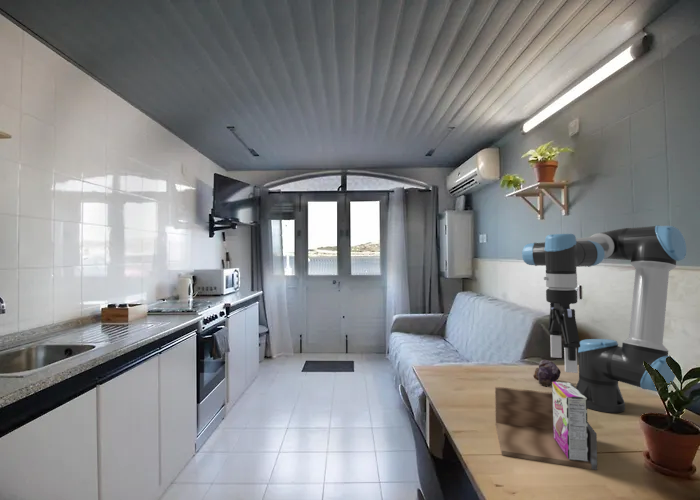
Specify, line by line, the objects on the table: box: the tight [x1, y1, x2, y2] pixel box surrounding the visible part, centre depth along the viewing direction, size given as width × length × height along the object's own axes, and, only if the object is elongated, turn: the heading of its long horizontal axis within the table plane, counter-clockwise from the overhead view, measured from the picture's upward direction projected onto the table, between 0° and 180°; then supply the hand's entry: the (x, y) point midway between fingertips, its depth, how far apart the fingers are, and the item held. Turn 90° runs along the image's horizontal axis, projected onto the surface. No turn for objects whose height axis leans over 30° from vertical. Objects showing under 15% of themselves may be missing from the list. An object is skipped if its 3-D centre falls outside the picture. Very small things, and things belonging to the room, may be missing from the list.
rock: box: [532, 359, 561, 387], centre depth 148 cm, size 12×9×10 cm
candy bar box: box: [551, 381, 589, 462], centre depth 94 cm, size 11×5×16 cm, turn 168°
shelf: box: [494, 386, 598, 471], centre depth 99 cm, size 22×18×12 cm
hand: (563, 364), depth 98 cm, fingers open, 13 cm apart
